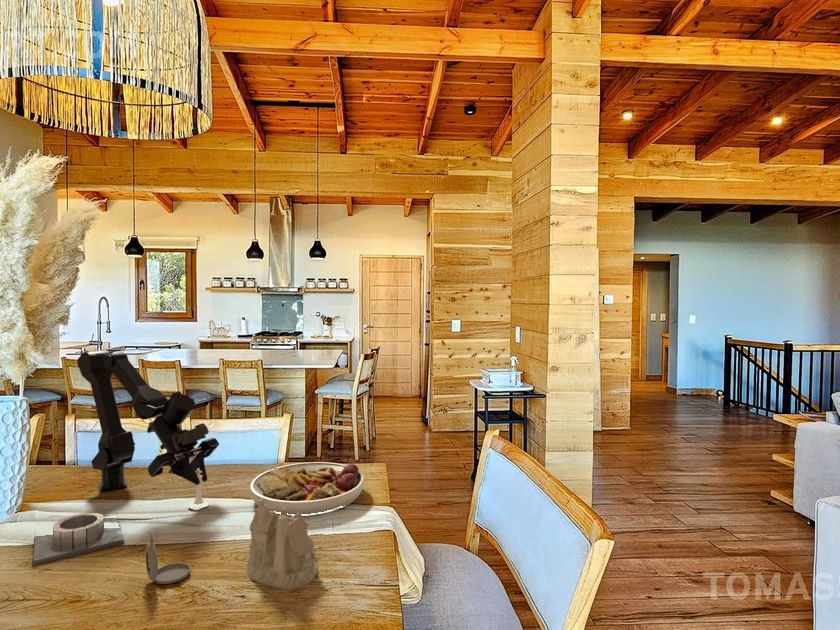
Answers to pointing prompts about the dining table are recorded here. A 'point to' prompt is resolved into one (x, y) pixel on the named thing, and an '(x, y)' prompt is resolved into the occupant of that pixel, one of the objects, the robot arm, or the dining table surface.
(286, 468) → the bowl
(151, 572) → the pocket watch
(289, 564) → the grey brown rock formation
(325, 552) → the dining table surface
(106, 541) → the lens mount
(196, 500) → the chess piece
